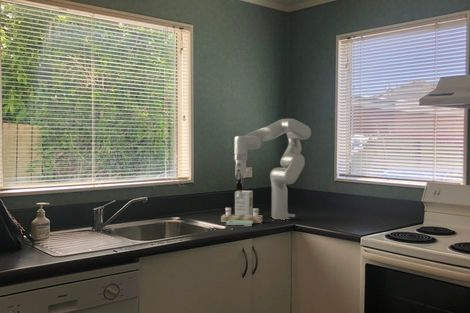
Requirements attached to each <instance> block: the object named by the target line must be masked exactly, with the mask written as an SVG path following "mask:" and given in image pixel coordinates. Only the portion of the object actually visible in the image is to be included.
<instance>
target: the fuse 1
mask: <svg viewBox="0 0 470 313" xmlns="http://www.w3.org/2000/svg"><path fill="white" fill-rule="evenodd" d="M224 209H225V215H226V216H231V215H232V208H231V207H225V208H224Z"/></svg>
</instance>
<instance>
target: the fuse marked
mask: <svg viewBox="0 0 470 313" xmlns="http://www.w3.org/2000/svg"><path fill="white" fill-rule="evenodd" d="M242 187H243V188H242V191H244V182H243V183H242ZM236 191H237V190H236ZM242 191H237V198H243V194H242Z"/></svg>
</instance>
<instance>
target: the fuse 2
mask: <svg viewBox="0 0 470 313" xmlns="http://www.w3.org/2000/svg"><path fill="white" fill-rule="evenodd" d="M259 211H260V209H259V208H257V207H256V208H255V207H254V208H253V217H258V215H259Z"/></svg>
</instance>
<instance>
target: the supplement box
mask: <svg viewBox="0 0 470 313" xmlns="http://www.w3.org/2000/svg"><path fill="white" fill-rule="evenodd" d="M253 192H254V191H253V190H242V194H243V198H237V190H236V191H234V215H253V206H254V205H253V204H254V203H253V202H254V200H253V198H254V196H253V195H254V193H253Z"/></svg>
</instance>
